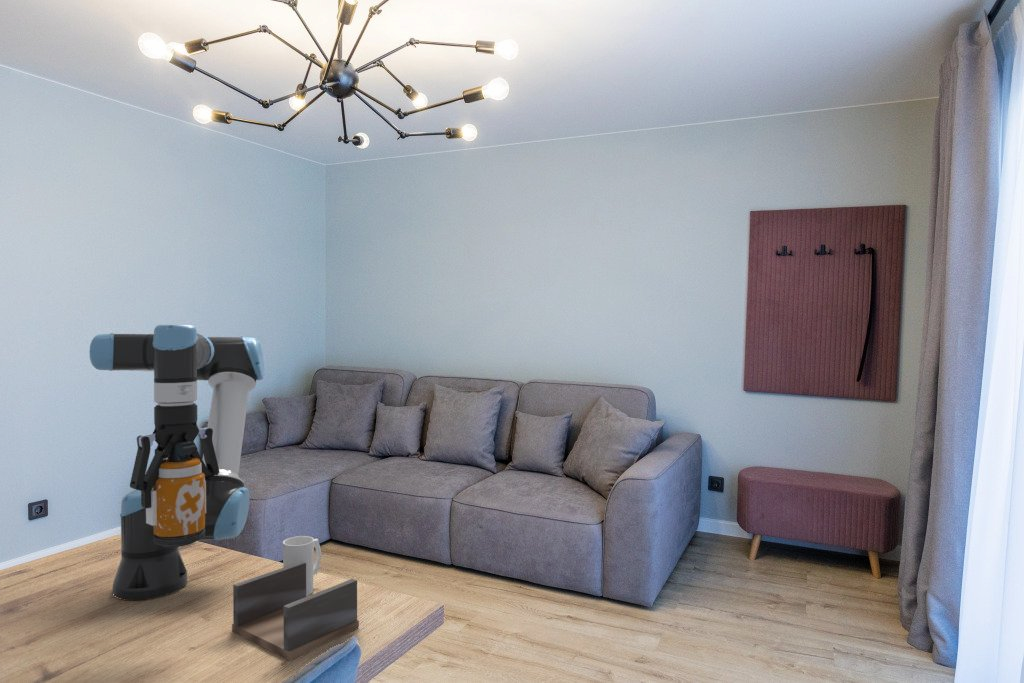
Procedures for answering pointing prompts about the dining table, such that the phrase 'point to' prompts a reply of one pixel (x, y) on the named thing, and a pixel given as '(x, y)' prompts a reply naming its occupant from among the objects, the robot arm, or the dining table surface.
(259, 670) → the dining table surface
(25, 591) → the dining table surface
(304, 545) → the mug
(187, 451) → the canister
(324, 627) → the holder
